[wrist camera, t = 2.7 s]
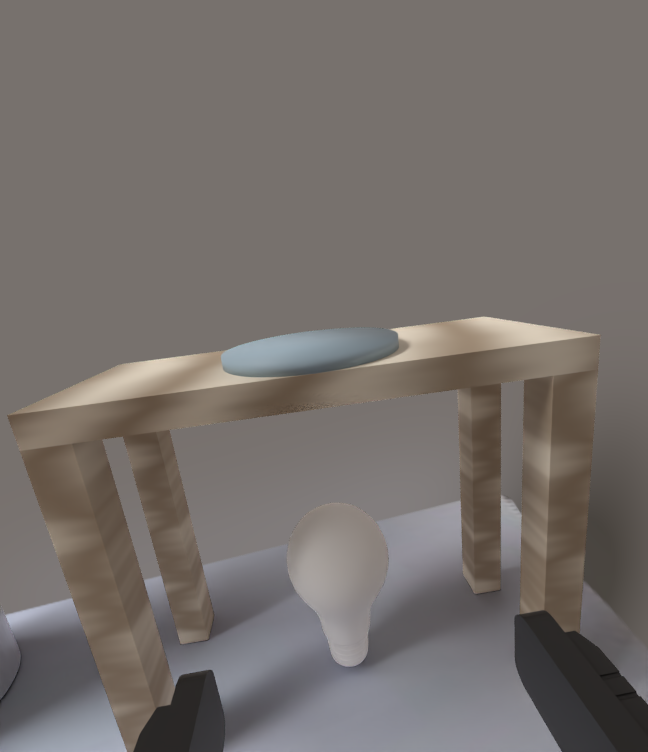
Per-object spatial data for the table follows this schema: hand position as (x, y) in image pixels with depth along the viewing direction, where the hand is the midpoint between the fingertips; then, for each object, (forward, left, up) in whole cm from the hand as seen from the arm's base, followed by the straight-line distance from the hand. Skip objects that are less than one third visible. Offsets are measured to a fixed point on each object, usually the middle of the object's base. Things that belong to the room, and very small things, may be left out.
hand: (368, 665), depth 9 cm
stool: (-5, +10, -14) cm, 18 cm away
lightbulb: (-5, +10, -14) cm, 18 cm away
